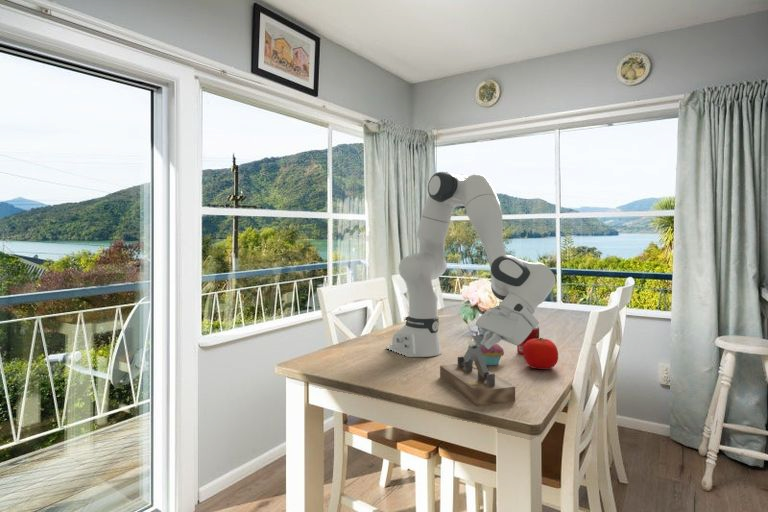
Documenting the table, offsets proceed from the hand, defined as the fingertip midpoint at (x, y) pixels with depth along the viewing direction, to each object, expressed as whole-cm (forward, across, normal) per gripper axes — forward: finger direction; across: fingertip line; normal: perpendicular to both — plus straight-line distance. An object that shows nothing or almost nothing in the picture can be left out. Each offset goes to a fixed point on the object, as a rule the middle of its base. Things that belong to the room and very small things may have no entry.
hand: (484, 346), depth 125 cm
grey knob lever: (+6, -13, +7) cm, 16 cm away
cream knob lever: (+6, 0, +7) cm, 9 cm away
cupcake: (-3, -27, +24) cm, 36 cm away
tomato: (-12, -18, +33) cm, 40 cm away
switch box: (+10, -7, +11) cm, 16 cm away
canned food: (-17, -35, +38) cm, 54 cm away
